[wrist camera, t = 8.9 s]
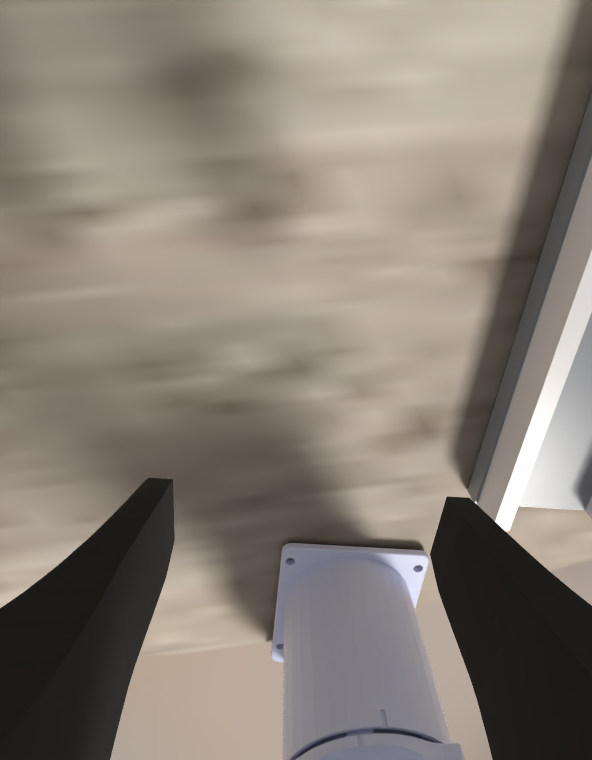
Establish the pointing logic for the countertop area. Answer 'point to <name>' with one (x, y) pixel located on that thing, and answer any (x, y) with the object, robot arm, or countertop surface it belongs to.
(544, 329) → the grey tray
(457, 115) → the countertop surface
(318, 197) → the countertop surface
